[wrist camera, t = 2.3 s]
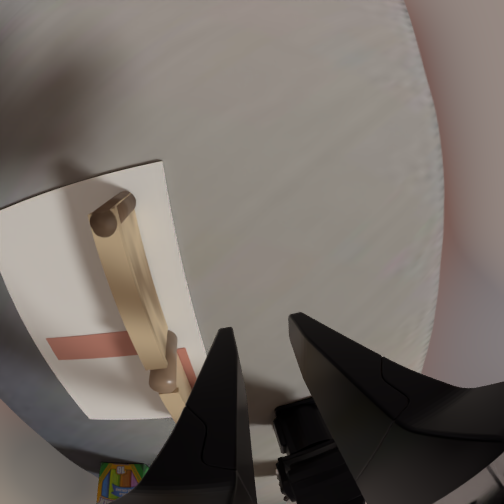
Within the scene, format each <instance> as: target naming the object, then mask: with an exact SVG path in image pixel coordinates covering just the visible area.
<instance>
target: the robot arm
mask: <svg viewBox="0 0 504 504" xmlns="http://www.w3.org/2000/svg"><path fill="white" fill-rule="evenodd" d="M288 321H289V337H290V341H291V344H292V347H293V350H294V353H295V356H296V359H297V362H298V365H299V368H300V371H301V373H302V376H303V379H304V381H305V383H306V385H307V387H308V389H309V391H310V393H311V395H312V397H313V398H311V399H307V400H304V401H300V402H297V403H293V404H289V405H285V406H281V407H278V408H276V409H275V414H276V419H274V421H273V424H274V431H275V434H276V437H277V441H278V444H279V447H280V450H281V453H283V454H284V453H287V456H285V457H280V458H278V463H277V464H276V467H277V470H278V473H279V480H280V489H281V492H282V493H283V494H285V495H287V497H288V498H289V499H290V500H291V502H295V501H296V503H297V504H365V501H366V503H367V504H504V382H500V383H496V384H491V385H487V386H482V387H477V388H460V387H456V386H453V385H450V384H447V383H444V382H442V381H439V380H436V379H433V378H431V377H428V376H425V375H423V374H420V373H418V372H415V371H413V370H410V369H408V368H406V367H404V366H401V365H399V364H397V363H395V362H393V361H391V360H389V359H387V358H385V357H382V356H381V355H379V354H378V353H376V352H374V351H372V350H370V349H368V348H366V347H364V346H362V345H361V344H359V343H357V342H355V341H353V340H351V339H349V338H348V337H346V336H344V335H342V334H340V333H338V332H336V331H335V330H333V329H331V328H329V327H327V326H325V325H324V324H322V323H320V322H318V321H316V320H315V319H313V318H311V317H309V316H307V315H306V314H304V313H302V312H299V313H294V314H290V315H289V318H288ZM185 406H186V407H184V408H183V410H182V413H181V415H180V417H179V419H178V421H177V423H176V425H175V427H174V429H173V431H172V433H171V434H170V436H169V438H168V439H167V441H166V443H165V444H164V446H163V448H162V449H161V451H160V452H159V454H158V455H157V457H156V458H155V460H154V461H153V463H152V464H151V466H150V468H149V469H148V471H147V472H146V474H145V475H144V477H143V478H142V479H141V481H140V482H139V483H138V484H137V485H136V486H135V487H134V488H133V489H132V490H131V491H129V492H128V493H127V494H125V495H123V496H121V497H119V498H118V499H116V500H114V501H112V502H110V503H108V504H257V498H256V488H255V479H254V469H253V460H252V450H251V439H250V429H249V418H248V407H247V397H246V389H245V384H244V380H243V375H242V370H241V365H240V360H239V355H238V350H237V345H236V341H235V337H234V332H233V328H232V327H226V328H221V329H219V330H218V333H217V335H216V337H215V339H214V341H213V344H212V346H211V348H210V350H209V353H208V355H207V357H206V359H205V362H204V364H203V366H202V368H201V371H200V373H199V375H198V377H197V379H196V382H195V384H194V386H193V388H192V391H191V393H190V395H189V397H188V400H187V402H186V404H185Z"/></svg>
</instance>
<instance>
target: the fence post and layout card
mask: <svg viewBox="0 0 504 504" xmlns="http://www.w3.org/2000/svg"><path fill="white" fill-rule="evenodd" d="M122 191H128V192H130V193H132V194H133V195H134V197H135V199H136V207H135V214H136V218H137V222H138V227H139V231H140V235H141V239H142V243H143V247H144V251H145V254H146V258H147V262H148V265H149V269H150V272H151V276H152V279H153V283H154V286H155V289H156V293H157V296H158V299H159V302H160V305H161V308H162V311H163V314H164V317H165V320H166V323H167V326H168V332H167V343H166V355H165V358H166V360H167V363H168V365H167V368H163V369H154V370H145V368H144V366H143V364H142V362H141V360H140V358H139V356H138V354H137V352H136V349H135V347H134V345H133V343H132V341H131V339H130V336H129V334H128V332H127V330H126V327H125V325H124V323H123V320H122V318H121V315H120V313H119V310H118V308H117V305H116V303H115V300H114V298H113V295H112V292H111V290H110V287H109V284H108V281H107V279H106V276H105V273H104V270H103V267H102V264H101V261H100V258H99V254H98V251H97V248H96V245H95V241H94V238H93V234H92V231H91V227H90V223H89V219H88V214H90V213H91V212H94V211H95V210H96V209H97V208H99V207H100V206H101V205H103V204H104V203H106V202H107V201H108V200H110V199H111V198H113V197H114V196H115V195H117V194H118V193H120V192H122ZM0 272H1V275H2V277H3V280H4V282H5V284H6V287H7V289H8V291H9V294H10V296H11V298H12V300H13V302H14V304H15V307H16V309H17V311H18V313H19V315H20V317H21V319H22V321H23V322H24V324H25V326H26V328H27V330H28V332H29V334H30V335H31V337H32V339H33V341H34V342H35V344H36V346H37V347H38V349H39V351H40V352H41V354H42V355H43V357H44V359H45V360H46V362H47V363H48V365H49V366H50V368H51V369H52V371H53V372H54V374H55V375H56V377H57V378H58V379H59V381H60V382H61V384H62V385H63V386H64V388H65V389H66V390H67V392H68V393H69V394H70V396H71V397H72V398H73V399H74V401H75V402H76V403H77V405H78V406H79V407H80V408H81V409H82V411H83V412H84V413H85V414H86V415H87V416H88V418H89V419H105V420H130V419H155V418H169V417H172V418H173V420H174V421H175V423H177V421H178V419H179V417H180V415H181V413H182V410H183V408H184V407H186V406H185V404H186V402H187V400H188V397H189V395H190V393H191V391H192V388H193V386H194V384H195V382H196V379H197V377H198V375H199V373H200V371H201V368H202V366H203V364H204V362H205V359H206V357H207V354H206V351H205V348H204V344H203V341H202V337H201V334H200V330H199V327H198V323H197V320H196V316H195V312H194V308H193V305H192V301H191V297H190V293H189V289H188V285H187V281H186V277H185V272H184V268H183V264H182V260H181V255H180V251H179V246H178V242H177V237H176V232H175V227H174V222H173V217H172V212H171V207H170V202H169V196H168V191H167V185H166V179H165V173H164V167H163V161H160V162H155V163H150V164H146V165H141V166H137V167H133V168H128V169H124V170H120V171H116V172H112V173H109V174H105V175H101V176H98V177H94V178H90V179H87V180H84V181H80V182H77V183H74V184H71V185H67V186H64V187H61V188H58V189H55V190H52V191H49V192H46V193H44V194H41V195H38V196H35V197H33V198H30V199H27V200H25V201H22V202H19V203H17V204H14V205H12V206H10V207H7V208H5V209H2V210H0Z"/></svg>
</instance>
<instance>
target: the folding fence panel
mask: <svg viewBox="0 0 504 504" xmlns="http://www.w3.org/2000/svg"><path fill="white" fill-rule="evenodd" d="M135 207H136V199H135V197H134V195H133V194H132V193H130V192H128V191H122V192H120V193H118V194H117V195H115V196H114V197H113V198H111V199H110V200H108V201H107V202H106V203H104V204H103V205H101V206H100V207H99V208H97V209H96V210H95V211H94V212H91V213H90V214H88V219H89V223H90V227H91V231H92V234H93V238H94V241H95V245H96V248H97V251H98V254H99V258H100V261H101V264H102V267H103V270H104V273H105V276H106V279H107V281H108V284H109V287H110V290H111V292H112V295H113V298H114V300H115V303H116V305H117V308H118V310H119V313H120V315H121V318H122V320H123V323H124V325H125V327H126V330H127V332H128V334H129V336H130V339H131V341H132V343H133V345H134V347H135V349H136V352H137V354H138V356H139V358H140V360H141V362H142V364H143V366H144V368H145V370H154V369H163V368H167V365H168V363H167V360H166V358H165V355H166V343H167V332H168V326H167V323H166V320H165V317H164V314H163V311H162V308H161V305H160V302H159V299H158V296H157V293H156V289H155V286H154V283H153V279H152V276H151V272H150V269H149V265H148V262H147V258H146V254H145V251H144V247H143V243H142V239H141V235H140V231H139V227H138V222H137V218H136V214H135Z"/></svg>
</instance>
